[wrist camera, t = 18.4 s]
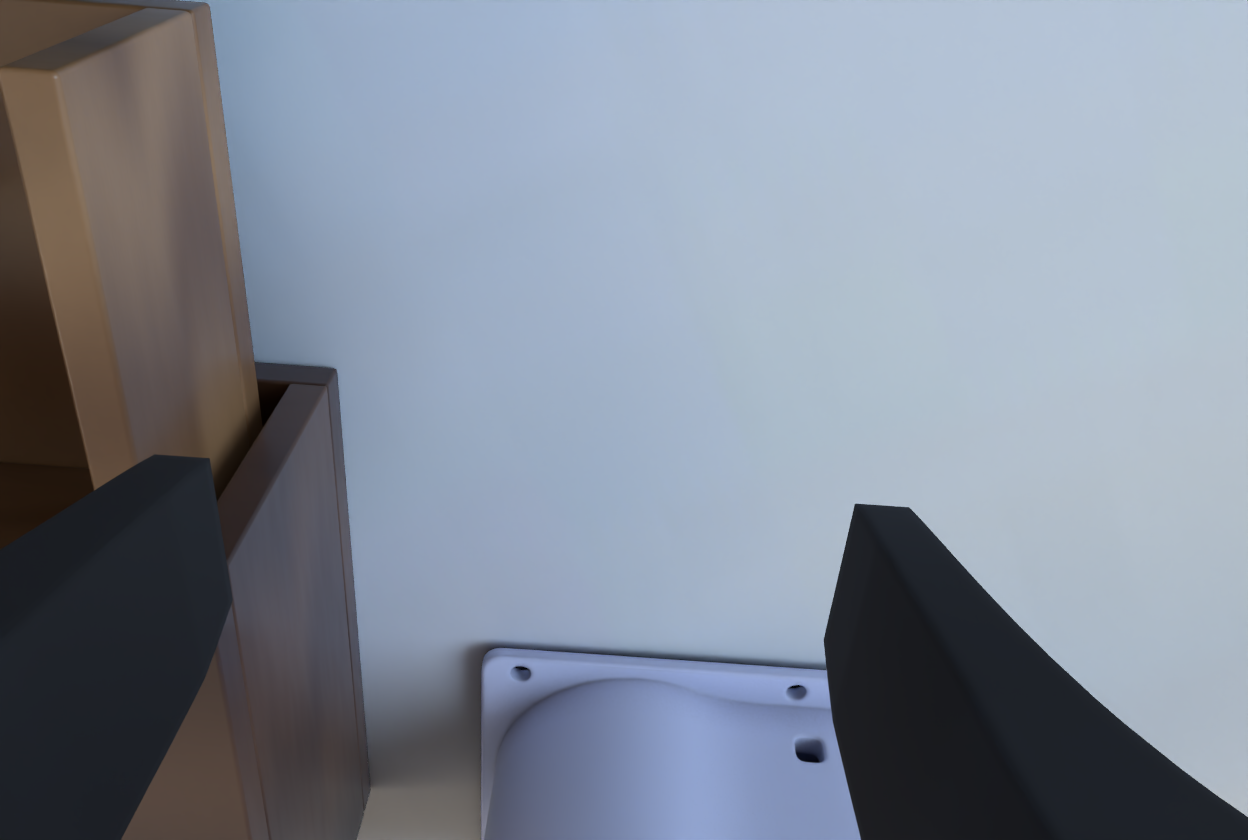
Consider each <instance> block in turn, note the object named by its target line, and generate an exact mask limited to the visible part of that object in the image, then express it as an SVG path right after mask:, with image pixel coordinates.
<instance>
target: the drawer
mask: <svg viewBox="0 0 1248 840" xmlns="http://www.w3.org/2000/svg"><path fill="white" fill-rule="evenodd" d="M262 428H263V426H262V418H261V410H260V402H259V394H258V386H257V378H256V370H255V362H254V354H253V346H252V339H251V331H250V323H249V315H248V307H247V299H246V291H245V283H244V275H243V267H242V259H241V251H240V243H239V235H238V227H237V219H236V211H235V203H234V195H233V187H232V180H231V172H230V164H229V156H228V148H227V140H226V132H225V124H224V116H223V108H222V100H221V92H220V84H219V76H218V68H217V60H216V52H215V44H214V36H213V28H212V20H211V13H210V7H209V4H207V3H204V2H191V1H179V0H0V550H1V549H2V548H4V547H5V546H7V545H9V544H10V543H12V542H13V541H15V540H17V539H18V538H20V537H21V536H23V535H24V534H26V533H28V532H29V531H31V530H32V529H34V528H36V527H37V526H39V525H40V524H42V523H44V522H45V521H47V520H48V519H50V518H52V517H53V516H55V515H56V514H58V513H60V512H61V511H63V510H64V509H66V508H68V507H69V506H71V505H72V504H74V503H75V502H77V501H78V500H80V499H82V498H83V497H85V496H86V495H88V494H89V493H91V492H93V491H94V490H96V489H97V488H99V487H100V486H102V485H104V484H105V483H107V482H108V481H110V480H112V479H113V478H115V477H116V476H118V475H120V474H121V473H123V472H125V471H126V470H128V469H129V468H131V467H133V466H135V465H136V464H138V463H140V462H142V461H143V460H145V459H147V458H149V457H151V456H153V455H154V454H157V455H171V456H185V457H200V458H210V464H211V470H212V476H213V482H214V488H215V494H216V500H217V501H218V499H219V497H220V496H221V494H222V493H223V491H224V489H225V488H226V486H227V485H228V483H229V481H230V480H231V478H232V477H233V475H234V473H235V472H236V470H237V469H238V467H239V465H240V464H241V462H242V460H243V459H244V457H245V456H246V454H247V452H248V451H249V449H250V448H251V446H252V444H253V443H254V441H255V440H256V438H257V436H258V435H259V433H260V432H261V430H262Z"/></svg>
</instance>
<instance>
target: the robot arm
mask: <svg viewBox="0 0 1248 840" xmlns="http://www.w3.org/2000/svg"><path fill="white" fill-rule="evenodd" d="M232 601H233V597H232V591H231V585H230V579H229V573H228V567H227V561H226V555H225V549H224V543H223V536H222V530H221V524H220V518H219V512H218V506H217V500H216V494H215V488H214V482H213V476H212V470H211V464H210V458H200V457H185V456H171V455H157V454H154V455H153V456H151V457H149V458H147V459H145V460H143V461H142V462H140V463H138V464H136V465H135V466H133V467H131V468H129V469H128V470H126V471H125V472H123V473H121V474H120V475H118V476H116V477H115V478H113V479H112V480H110V481H108V482H107V483H105V484H104V485H102V486H100V487H99V488H97V489H96V490H94V491H93V492H91V493H89V494H88V495H86V496H85V497H83V498H82V499H80V500H78V501H77V502H75V503H74V504H72V505H71V506H69V507H68V508H66V509H64V510H63V511H61V512H60V513H58V514H56V515H55V516H53V517H52V518H50V519H48V520H47V521H45V522H44V523H42V524H40V525H39V526H37V527H36V528H34V529H32V530H31V531H29V532H28V533H26V534H24V535H23V536H21V537H20V538H18V539H17V540H15V541H13V542H12V543H10V544H9V545H7V546H5V547H4V548H2V549H1V550H0V840H121V839H122V837H123V835H124V833H125V831H126V829H127V827H128V825H129V823H130V821H131V820H132V818H133V816H134V814H135V812H136V810H137V808H138V806H139V804H140V803H141V801H142V799H143V797H144V795H145V793H146V791H147V789H148V787H149V785H150V784H151V782H152V780H153V778H154V776H155V774H156V772H157V770H158V768H159V766H160V765H161V763H162V761H163V759H164V757H165V755H166V753H167V751H168V749H169V748H170V746H171V744H172V742H173V740H174V738H175V736H176V734H177V732H178V730H179V728H180V726H181V724H182V723H183V721H184V719H185V717H186V715H187V713H188V711H189V709H190V707H191V705H192V703H193V701H194V699H195V697H196V695H197V693H198V691H199V689H200V687H201V685H202V683H203V681H204V679H205V677H206V674H207V671H208V669H209V666H210V663H211V661H212V658H213V655H214V653H215V650H216V648H217V645H218V642H219V639H220V636H221V633H222V630H223V627H224V624H225V622H226V619H227V616H228V613H229V610H230V607H231V604H232ZM824 647H825V657H826V668H827V670H816V669H802V668H787V667H773V666H758V665H744V664H729V663H715V662H700V661H686V660H671V659H657V658H642V657H628V656H613V655H599V654H584V653H570V652H555V651H541V650H526V649H512V648H495V649H493V650H490V651H488V652H487V654H486V655H485V656H484V659H483V663H482V669H481V840H1248V817H1247V816H1245V815H1244V814H1242V813H1241V812H1240V811H1238V810H1237V809H1235V808H1234V807H1232V806H1231V805H1230V804H1228V803H1227V802H1225V801H1224V800H1222V799H1221V798H1219V797H1218V796H1217V795H1215V794H1214V793H1213V792H1211V791H1210V790H1208V789H1207V788H1206V787H1204V786H1203V785H1202V784H1200V783H1199V782H1198V781H1196V780H1195V779H1194V778H1192V777H1191V776H1190V775H1188V774H1187V773H1186V772H1184V771H1183V770H1182V769H1180V768H1179V767H1178V766H1176V765H1175V764H1174V763H1173V762H1172V761H1170V760H1169V759H1168V758H1167V757H1165V756H1164V755H1163V754H1162V753H1160V752H1159V751H1158V750H1157V749H1155V748H1154V747H1153V746H1152V745H1150V744H1149V743H1148V742H1147V741H1145V740H1144V739H1143V738H1142V737H1140V736H1139V735H1138V734H1137V733H1135V732H1134V731H1133V730H1132V729H1130V728H1129V727H1128V726H1127V725H1125V724H1124V723H1123V722H1122V721H1121V720H1120V719H1118V718H1117V717H1116V716H1115V715H1114V714H1113V713H1111V712H1110V711H1109V710H1108V709H1107V708H1106V707H1104V706H1103V705H1102V704H1101V703H1100V702H1099V701H1098V700H1096V699H1095V698H1094V697H1093V696H1092V695H1091V694H1090V693H1089V692H1088V691H1087V690H1085V689H1084V688H1083V687H1082V686H1081V685H1080V684H1079V683H1078V682H1077V681H1076V680H1075V679H1074V678H1073V677H1071V676H1070V675H1069V674H1068V673H1067V672H1066V671H1065V670H1064V669H1063V668H1062V667H1061V666H1060V665H1058V664H1057V663H1056V662H1055V661H1054V660H1053V659H1052V658H1051V657H1050V656H1049V655H1048V654H1047V653H1046V652H1045V651H1044V650H1043V649H1042V648H1041V647H1040V646H1039V645H1038V644H1037V643H1036V642H1035V641H1034V640H1033V639H1032V638H1031V637H1030V636H1029V635H1028V634H1027V633H1026V632H1025V631H1024V630H1023V629H1022V628H1021V627H1020V626H1019V625H1018V624H1017V623H1016V622H1015V621H1014V620H1013V619H1012V618H1011V617H1010V616H1009V615H1008V614H1007V613H1006V612H1005V611H1004V610H1003V609H1002V608H1001V607H1000V606H999V605H998V604H997V602H996V601H995V600H994V599H993V598H992V597H991V596H990V595H989V594H988V593H987V592H986V591H985V590H984V589H983V588H982V586H981V585H980V584H979V583H978V582H977V581H976V580H975V579H974V578H973V577H972V576H971V574H970V573H969V572H968V571H967V570H966V569H965V568H964V567H963V566H962V565H961V563H960V562H959V561H958V560H957V559H956V558H955V557H954V556H953V555H952V554H951V552H950V551H949V550H948V549H947V548H946V547H945V546H944V545H943V544H942V542H941V541H940V540H939V539H938V538H937V537H936V536H935V535H934V534H933V532H932V531H931V530H930V529H929V528H928V527H927V526H926V525H925V524H924V523H923V521H922V520H921V519H920V518H919V517H918V516H917V515H916V514H915V513H914V512H913V511H912V510H911V509H910V508H909V507H895V506H880V505H866V504H855V506H854V511H853V515H852V519H851V524H850V528H849V532H848V537H847V541H846V546H845V550H844V554H843V559H842V563H841V567H840V572H839V576H838V580H837V585H836V589H835V593H834V598H833V602H832V606H831V611H830V615H829V619H828V624H827V628H826V633H825V637H824ZM515 666H523V667H526V668H528V669H527V670H520V669H517V668H515ZM792 685H800V686H801V687H799V688H794V689H792V688H789V687H791V686H792Z"/></svg>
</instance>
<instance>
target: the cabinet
mask: <svg viewBox="0 0 1248 840" xmlns="http://www.w3.org/2000/svg"><path fill="white" fill-rule="evenodd" d="M255 370H256V378H257V386H258V394H259V402H260V410H261V418H262V426H263V428H262V430H261V432H260V433H259V435H258V436H257V438H256V440H255V441H254V443H253V444H252V446H251V448H250V449H249V451H248V452H247V454H246V456H245V457H244V459H243V460H242V462H241V464H240V465H239V467H238V469H237V470H236V472H235V473H234V475H233V477H232V478H231V480H230V481H229V483H228V485H227V486H226V488H225V489H224V491H223V493H222V494H221V496H220V497H219V499H218V501H217V506H218V512H219V518H220V524H221V530H222V536H223V543H224V549H225V555H226V561H227V567H228V573H229V579H230V585H231V591H232V597H233V601H232V604H231V607H230V610H229V613H228V616H227V619H226V622H225V624H224V627H223V630H222V633H221V636H220V639H219V642H218V645H217V648H216V650H215V653H214V655H213V658H212V661H211V663H210V666H209V669H208V671H207V674H206V677H205V679H204V681H203V683H202V685H201V687H200V689H199V691H198V693H197V695H196V697H195V699H194V701H193V703H192V705H191V707H190V709H189V711H188V713H187V715H186V717H185V719H184V721H183V723H182V724H181V726H180V728H179V730H178V732H177V734H176V736H175V738H174V740H173V742H172V744H171V746H170V748H169V749H168V751H167V753H166V755H165V757H164V759H163V761H162V763H161V765H160V766H159V768H158V770H157V772H156V774H155V776H154V778H153V780H152V782H151V784H150V785H149V787H148V789H147V791H146V793H145V795H144V797H143V799H142V801H141V803H140V804H139V806H138V808H137V810H136V812H135V814H134V816H133V818H132V820H131V821H130V823H129V825H128V827H127V829H126V831H125V833H124V835H123V837H122V839H121V840H356V839H357V836H358V832H359V829H360V825H361V822H362V818H363V815H364V810H365V808H366V804H367V801H368V797H369V793H370V778H369V766H368V753H367V741H366V728H365V716H364V703H363V691H362V678H361V666H360V653H359V641H358V628H357V616H356V603H355V591H354V578H353V566H352V553H351V541H350V528H349V516H348V503H347V491H346V478H345V466H344V453H343V441H342V428H341V416H340V403H339V391H338V378H337V370H336V369H334V368H322V367H308V366H295V365H281V364H268V363H255Z"/></svg>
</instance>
